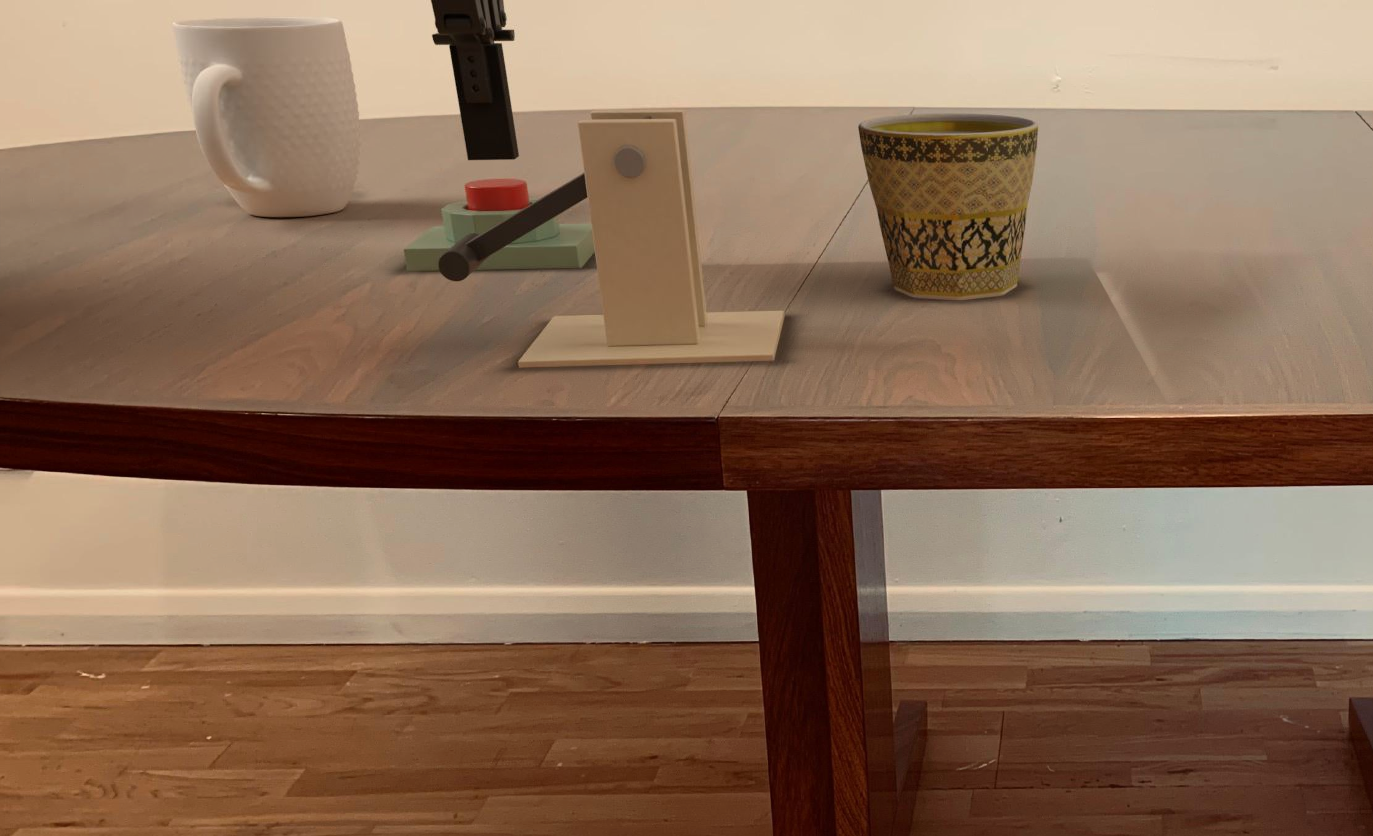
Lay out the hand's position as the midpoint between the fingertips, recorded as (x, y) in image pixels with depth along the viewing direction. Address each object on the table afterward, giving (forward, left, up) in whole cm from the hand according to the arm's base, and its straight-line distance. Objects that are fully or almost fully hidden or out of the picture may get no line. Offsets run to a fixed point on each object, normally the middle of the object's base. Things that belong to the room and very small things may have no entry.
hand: (493, 157), depth 106 cm
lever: (+8, -24, 0) cm, 25 cm away
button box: (0, 0, -7) cm, 7 cm away
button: (0, 0, -3) cm, 3 cm away
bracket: (+12, -24, -7) cm, 28 cm away
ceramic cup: (+28, -11, -7) cm, 31 cm away
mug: (-20, +24, -7) cm, 32 cm away
